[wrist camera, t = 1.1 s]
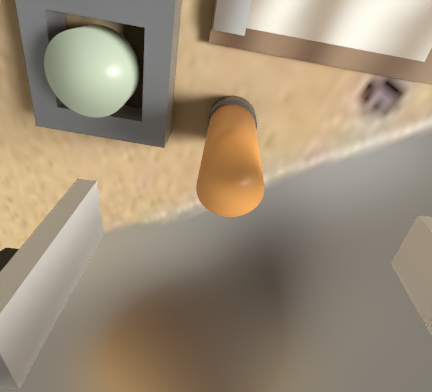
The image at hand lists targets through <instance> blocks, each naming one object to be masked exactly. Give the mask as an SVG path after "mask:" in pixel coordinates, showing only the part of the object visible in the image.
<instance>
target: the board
mask: <svg viewBox="0 0 432 392" xmlns="http://www.w3.org/2000/svg"><path fill="white" fill-rule="evenodd" d="M209 43H211V44H216V45H222V46H227V47H232V48H238V49H243V50H248V51H254V52H259V53H264V54H270V55H275V56H280V57H286V58H291V59H296V60H302V61H307V62H312V63H318V64H323V65H329V66H334V67H339V68H345V69H350V70H355V71H361V72H366V73H371V74H377V75H382V76H387V77H393V78H398V79H403V80H409V81H414V82H419V83H425V84H430V85H431V84H432V0H215V1H214V8H213V16H212V23H211V30H210V38H209Z"/></svg>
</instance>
